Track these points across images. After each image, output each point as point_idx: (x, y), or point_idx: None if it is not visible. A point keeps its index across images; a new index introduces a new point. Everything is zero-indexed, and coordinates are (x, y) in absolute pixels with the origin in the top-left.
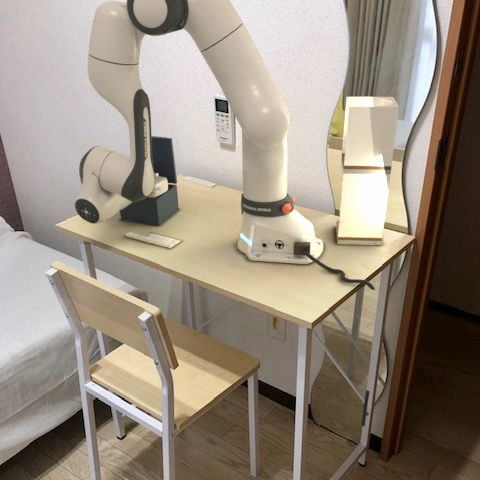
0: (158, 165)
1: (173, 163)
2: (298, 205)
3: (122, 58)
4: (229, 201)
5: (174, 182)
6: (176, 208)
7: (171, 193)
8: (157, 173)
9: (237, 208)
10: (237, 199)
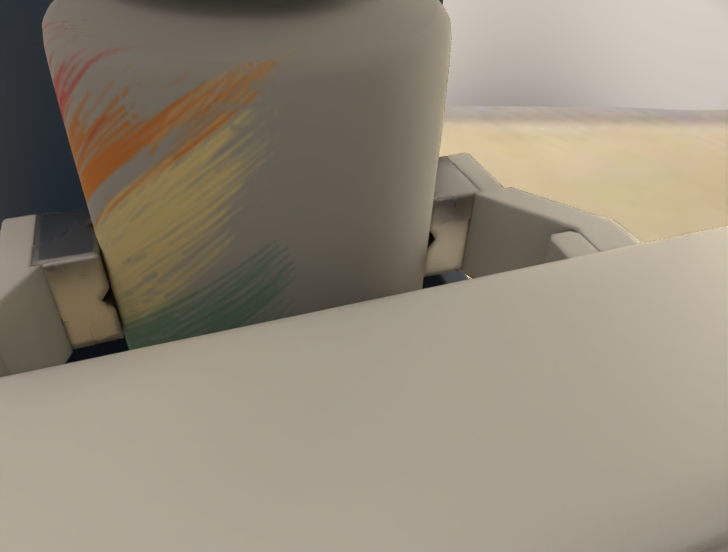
0: None
1: (442, 4)
2: (725, 121)
3: None
4: (506, 186)
5: None
6: None
7: None
8: (471, 159)
9: (611, 213)
10: (511, 164)
